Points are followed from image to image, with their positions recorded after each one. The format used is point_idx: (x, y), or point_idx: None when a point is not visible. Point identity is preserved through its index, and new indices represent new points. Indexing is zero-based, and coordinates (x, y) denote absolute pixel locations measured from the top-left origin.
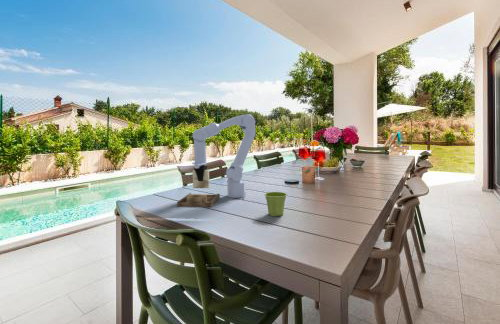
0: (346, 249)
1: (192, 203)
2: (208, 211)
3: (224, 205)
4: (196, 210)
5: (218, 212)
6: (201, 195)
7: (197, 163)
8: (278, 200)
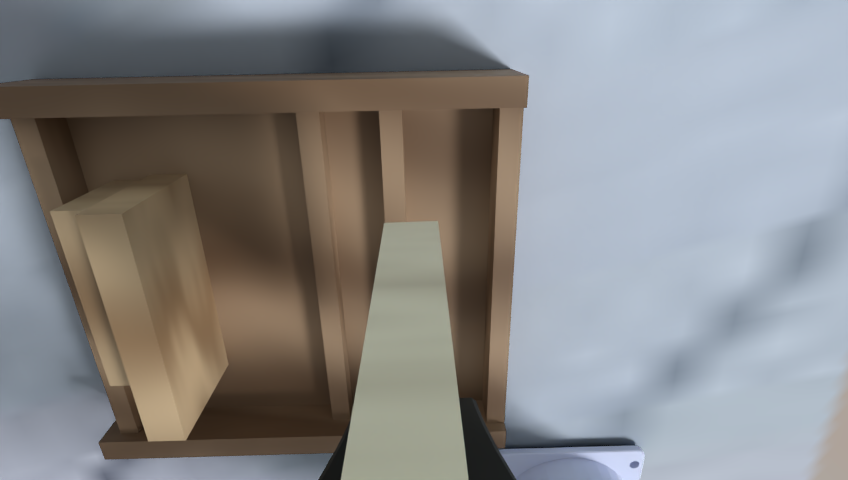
0: None
1: (69, 273)
2: (66, 404)
3: (283, 473)
4: (53, 304)
5: (71, 474)
6: (137, 392)
7: None
8: None
